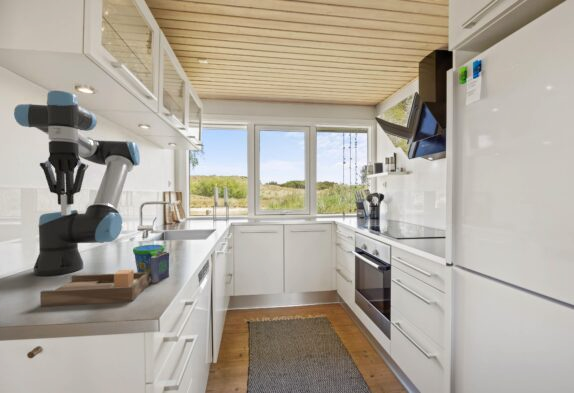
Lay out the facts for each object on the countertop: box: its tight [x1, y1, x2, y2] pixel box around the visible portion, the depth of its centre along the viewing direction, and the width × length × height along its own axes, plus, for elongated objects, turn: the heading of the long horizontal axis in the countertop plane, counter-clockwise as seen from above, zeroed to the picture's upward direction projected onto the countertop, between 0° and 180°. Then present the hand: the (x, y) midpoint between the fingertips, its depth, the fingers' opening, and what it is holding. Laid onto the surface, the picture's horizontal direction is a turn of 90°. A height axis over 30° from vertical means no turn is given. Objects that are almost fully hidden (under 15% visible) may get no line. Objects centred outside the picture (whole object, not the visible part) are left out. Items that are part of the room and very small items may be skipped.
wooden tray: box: [39, 272, 151, 308], centre depth 85 cm, size 15×23×4 cm, turn 99°
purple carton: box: [150, 249, 170, 285], centre depth 99 cm, size 9×3×11 cm, turn 172°
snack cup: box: [132, 244, 165, 277], centre depth 105 cm, size 16×10×10 cm
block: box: [113, 269, 135, 287], centre depth 85 cm, size 4×4×4 cm
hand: (66, 214), depth 91 cm, fingers closed
